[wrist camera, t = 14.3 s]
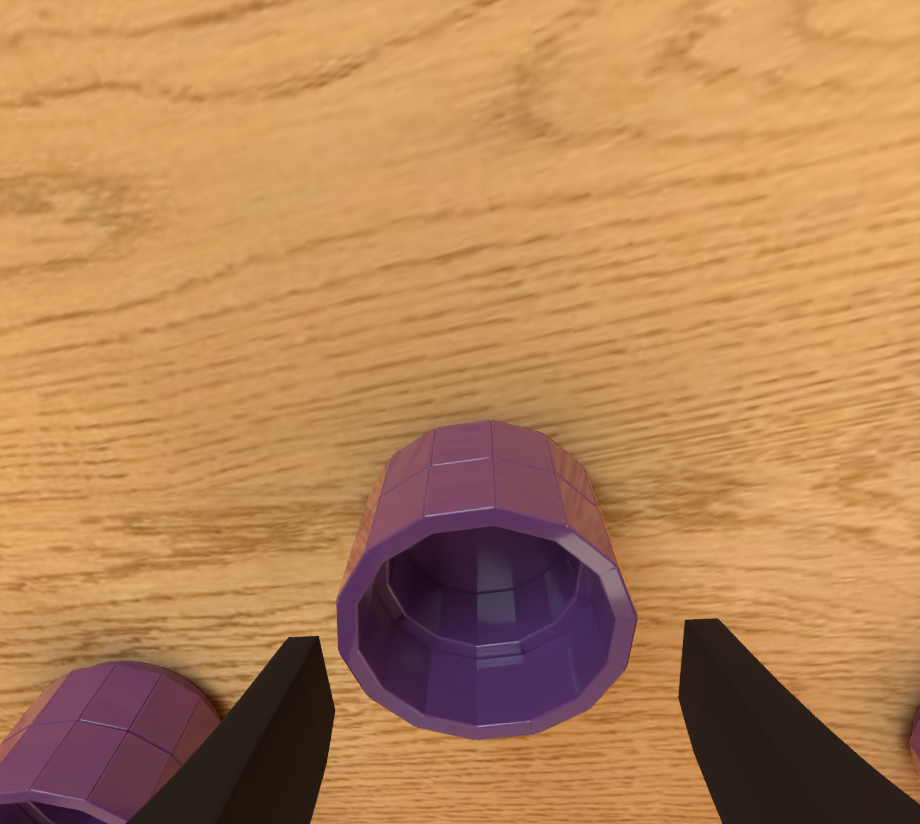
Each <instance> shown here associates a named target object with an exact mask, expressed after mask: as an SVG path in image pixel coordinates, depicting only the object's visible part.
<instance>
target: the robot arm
mask: <svg viewBox="0 0 920 824" xmlns="http://www.w3.org/2000/svg"><path fill="white" fill-rule="evenodd" d="M678 698H679V702H680V705H681V709H682V713H683V716H684V720H685V724H686V727H687V731H688V734H689V738H690V741H691V744H692V748H693V751H694V754H695V757H696V759H697V762H698V764H699V767H700V769H701V772H702V774H703V777H704V779H705V782H706V784H707V787H708V789H709V792H710V794H711V797H712V799H713V802H714V804H715V807H716V809H717V811H718V814H719V816H720V819H721V821H722V824H920V804H918V803H917V802H916V801H915V800H913V799H912V798H911V797H909V796H908V795H907V794H906V793H904V792H903V791H902V790H901V789H899V788H898V787H897V786H895V785H894V784H893V783H892V782H890V781H889V780H888V779H886V778H885V777H884V776H883V775H882V774H880V773H879V772H878V771H877V770H876V769H874V768H873V767H872V766H871V765H870V764H868V763H867V762H866V761H865V760H864V759H863V758H861V757H860V756H859V755H858V754H857V753H856V752H854V751H853V750H852V749H851V748H850V747H849V746H848V745H847V744H845V743H844V742H843V741H842V740H841V739H840V738H839V737H837V736H836V735H835V734H834V733H833V732H832V731H831V730H830V729H829V728H827V727H826V726H825V725H824V724H823V723H822V722H821V721H820V720H819V719H818V718H817V717H815V716H814V715H813V714H812V713H811V712H810V711H809V710H808V709H807V708H806V707H805V706H804V705H803V704H802V703H801V702H800V701H799V700H798V699H797V698H796V697H795V696H794V695H792V694H791V693H790V692H789V691H788V690H787V689H786V688H785V687H784V686H783V685H782V684H781V683H780V682H779V681H778V680H777V679H776V678H775V677H774V676H773V675H772V674H771V673H770V672H769V671H768V670H767V669H766V668H765V667H764V666H763V665H762V664H761V663H760V662H759V661H758V660H757V659H756V658H755V657H754V656H753V654H752V653H751V652H750V651H749V650H748V649H747V648H746V647H745V646H744V645H743V644H742V643H741V642H740V641H739V640H738V639H737V638H736V637H735V636H734V635H733V634H732V633H731V631H730V630H729V629H728V628H727V627H726V626H725V625H724V624H723V623H722V622H721V621H720V620H718V619H717V618H715V619H693V620H685V626H684V638H683V649H682V661H681V672H680V684H679V696H678ZM334 715H335V707H334V703H333V698H332V694H331V689H330V685H329V680H328V676H327V671H326V667H325V662H324V658H323V653H322V649H321V644H320V640H319V636H306V637H289V638H288V639H287V640H286V641H285V642H284V643H283V644H282V646H281V647H280V648H279V649H278V651H277V652H276V653H275V655H274V656H273V657H272V658H271V660H270V661H269V662H268V664H267V665H266V666H265V667H264V669H263V670H262V671H261V673H260V674H259V675H258V676H257V678H256V679H255V680H254V682H253V683H252V684H251V685H250V687H249V688H248V689H247V690H246V692H245V693H244V694H243V695H242V697H241V698H240V699H239V700H238V701H237V703H236V704H235V705H234V706H233V707H232V709H231V710H230V711H229V712H228V714H227V715H226V716H225V717H224V718H223V720H222V721H221V722H220V723H219V724H218V726H217V727H216V728H215V729H214V730H213V732H212V733H211V734H210V735H209V736H208V737H207V738H206V740H205V741H204V742H203V743H202V744H201V745H200V746H199V747H198V748H197V750H196V751H195V752H194V753H193V754H192V755H191V756H190V757H189V758H188V760H187V761H186V762H185V763H184V764H183V765H182V766H181V767H180V768H179V770H178V771H177V772H176V773H175V774H174V775H173V776H172V777H171V778H170V779H169V780H168V781H167V782H166V783H165V784H164V786H163V787H162V788H161V789H160V790H159V791H158V792H157V793H156V794H155V795H154V796H153V797H152V798H151V799H150V800H149V801H148V802H147V803H146V804H145V805H144V806H143V807H142V808H141V809H140V810H139V811H138V812H137V813H136V814H135V815H134V816H133V817H132V818H131V819H129V820H128V821H127V822H126V823H125V824H310V822H311V819H312V815H313V811H314V808H315V804H316V801H317V797H318V793H319V790H320V786H321V782H322V779H323V775H324V771H325V768H326V764H327V758H328V752H329V746H330V741H331V734H332V728H333V721H334Z"/></svg>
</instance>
